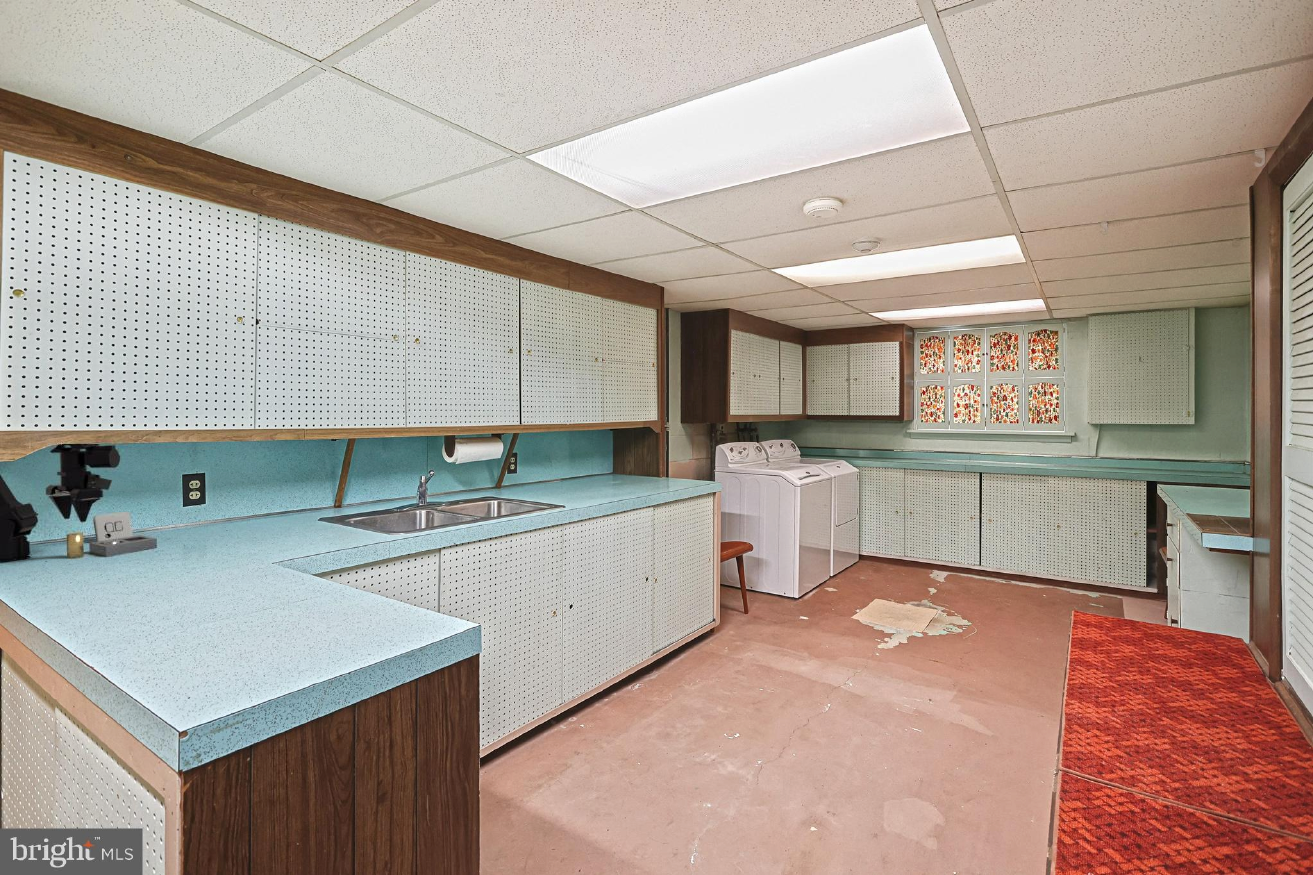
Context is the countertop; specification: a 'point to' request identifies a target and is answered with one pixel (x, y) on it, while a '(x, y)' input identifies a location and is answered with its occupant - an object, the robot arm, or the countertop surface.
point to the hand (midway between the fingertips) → (75, 520)
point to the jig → (123, 546)
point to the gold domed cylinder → (75, 545)
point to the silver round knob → (111, 542)
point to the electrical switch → (112, 526)
